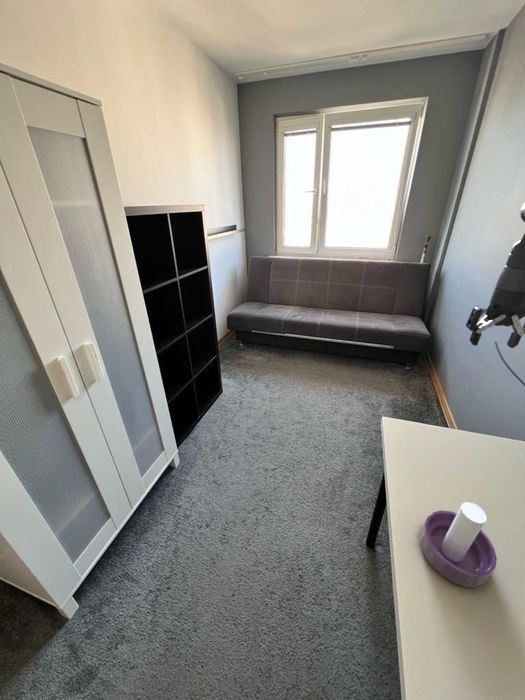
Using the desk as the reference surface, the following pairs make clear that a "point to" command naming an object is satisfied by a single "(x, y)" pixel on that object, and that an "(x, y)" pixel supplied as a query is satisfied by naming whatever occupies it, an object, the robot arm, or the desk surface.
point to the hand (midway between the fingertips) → (491, 345)
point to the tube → (463, 531)
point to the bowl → (473, 564)
